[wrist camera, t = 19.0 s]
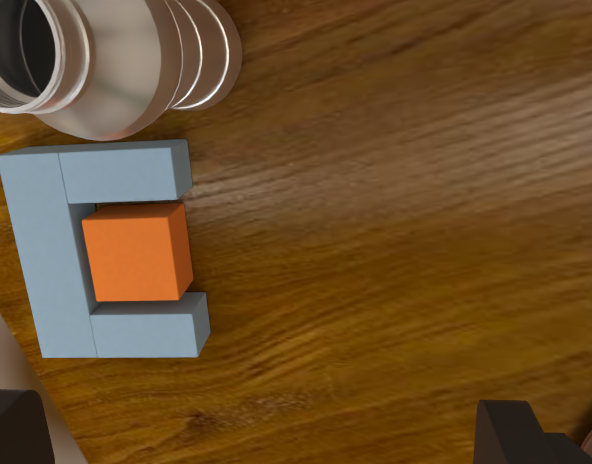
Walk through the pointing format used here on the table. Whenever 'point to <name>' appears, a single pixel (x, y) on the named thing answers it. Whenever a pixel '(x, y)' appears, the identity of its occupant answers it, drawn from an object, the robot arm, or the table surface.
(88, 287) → the light blue u-shaped block
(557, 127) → the table surface
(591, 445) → the cup and saucer
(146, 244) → the orange block
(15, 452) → the robot arm
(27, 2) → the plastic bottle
